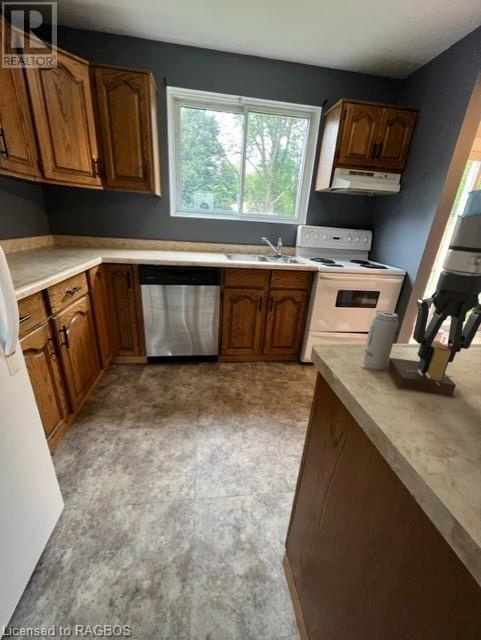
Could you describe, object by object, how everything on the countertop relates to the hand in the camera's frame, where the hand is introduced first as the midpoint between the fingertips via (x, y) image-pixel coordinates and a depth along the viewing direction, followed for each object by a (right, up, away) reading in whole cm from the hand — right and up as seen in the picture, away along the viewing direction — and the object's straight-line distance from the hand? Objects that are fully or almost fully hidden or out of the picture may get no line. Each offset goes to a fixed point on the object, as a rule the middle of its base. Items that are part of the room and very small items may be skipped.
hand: (430, 371), depth 64 cm
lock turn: (0, -1, 0) cm, 1 cm away
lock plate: (-1, -3, +3) cm, 4 cm away
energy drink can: (-9, 0, +9) cm, 13 cm away
